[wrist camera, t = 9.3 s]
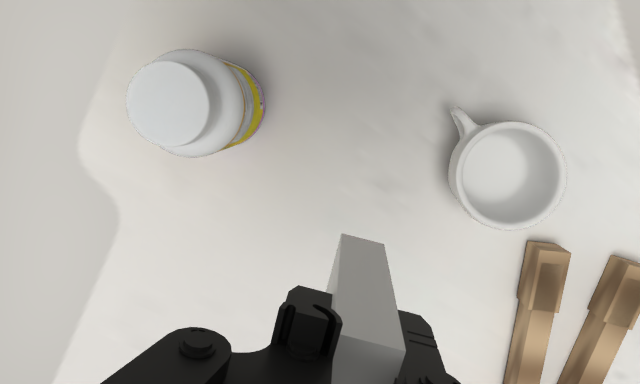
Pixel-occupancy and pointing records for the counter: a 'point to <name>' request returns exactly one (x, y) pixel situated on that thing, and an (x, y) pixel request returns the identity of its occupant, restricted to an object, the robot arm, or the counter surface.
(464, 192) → the teacup
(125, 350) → the counter surface
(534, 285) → the tong arm
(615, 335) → the wooden tongs
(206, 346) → the robot arm
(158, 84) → the supplement bottle
